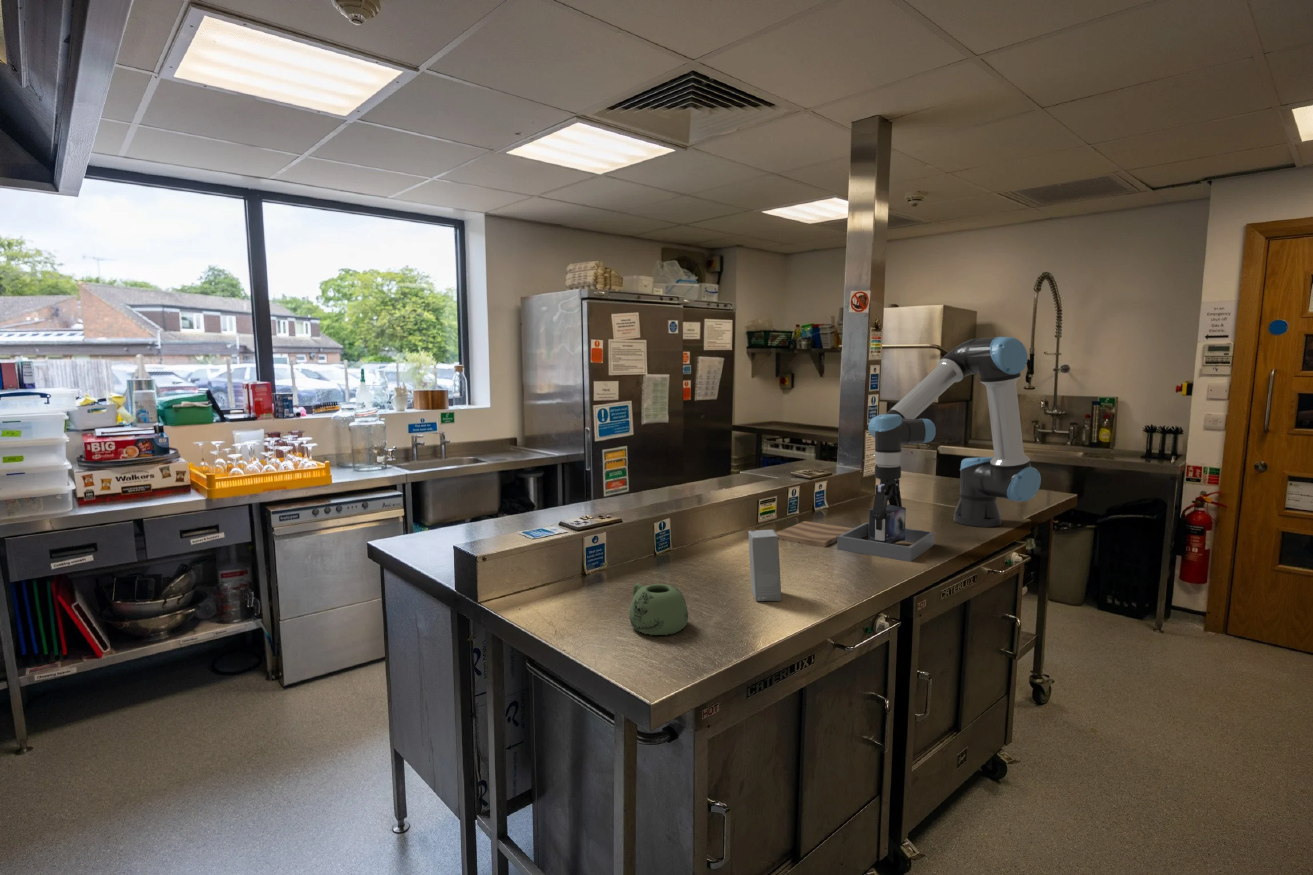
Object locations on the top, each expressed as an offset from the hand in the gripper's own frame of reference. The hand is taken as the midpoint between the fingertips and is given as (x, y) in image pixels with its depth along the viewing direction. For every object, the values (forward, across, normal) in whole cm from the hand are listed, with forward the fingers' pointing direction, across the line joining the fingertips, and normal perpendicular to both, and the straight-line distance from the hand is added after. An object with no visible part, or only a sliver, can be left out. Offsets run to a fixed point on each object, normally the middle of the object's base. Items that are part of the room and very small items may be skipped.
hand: (887, 535), depth 200 cm
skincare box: (+3, +60, -8) cm, 61 cm away
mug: (+3, +90, -18) cm, 92 cm away
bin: (+4, 0, 0) cm, 4 cm away
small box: (+2, 0, 0) cm, 2 cm away
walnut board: (+3, 0, -24) cm, 24 cm away
